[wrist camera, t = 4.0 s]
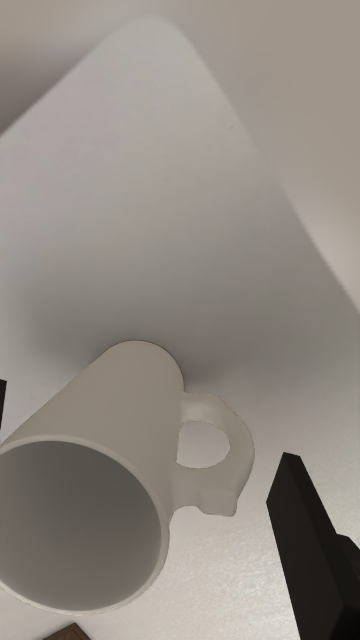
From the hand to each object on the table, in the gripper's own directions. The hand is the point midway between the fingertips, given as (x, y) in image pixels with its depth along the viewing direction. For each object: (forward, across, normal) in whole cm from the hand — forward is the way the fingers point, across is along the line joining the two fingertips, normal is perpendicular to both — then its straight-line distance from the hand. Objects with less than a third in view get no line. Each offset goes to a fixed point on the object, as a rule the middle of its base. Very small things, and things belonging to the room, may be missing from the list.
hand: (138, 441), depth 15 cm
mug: (+7, 0, 0) cm, 7 cm away
